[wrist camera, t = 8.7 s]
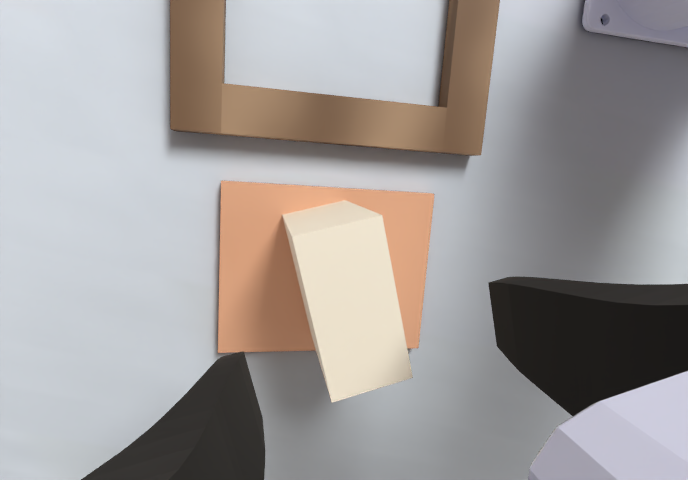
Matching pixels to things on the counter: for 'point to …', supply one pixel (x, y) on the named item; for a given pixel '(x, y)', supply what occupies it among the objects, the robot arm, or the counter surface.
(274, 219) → the peach rectangular tile
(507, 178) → the counter surface
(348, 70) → the counter surface
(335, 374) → the cream upright block
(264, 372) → the counter surface
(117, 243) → the counter surface
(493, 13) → the wooden picture frame
